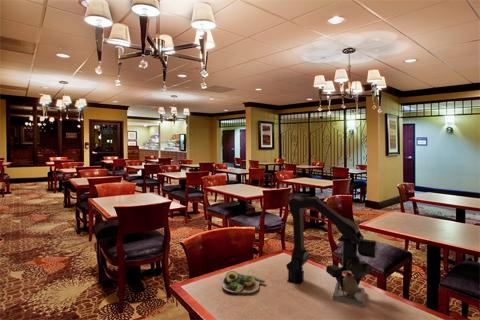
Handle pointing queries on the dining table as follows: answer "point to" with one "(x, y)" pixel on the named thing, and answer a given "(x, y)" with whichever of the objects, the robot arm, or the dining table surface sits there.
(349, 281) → the vase
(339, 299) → the grey square tray
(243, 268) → the dining table surface
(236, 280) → the salad plate
